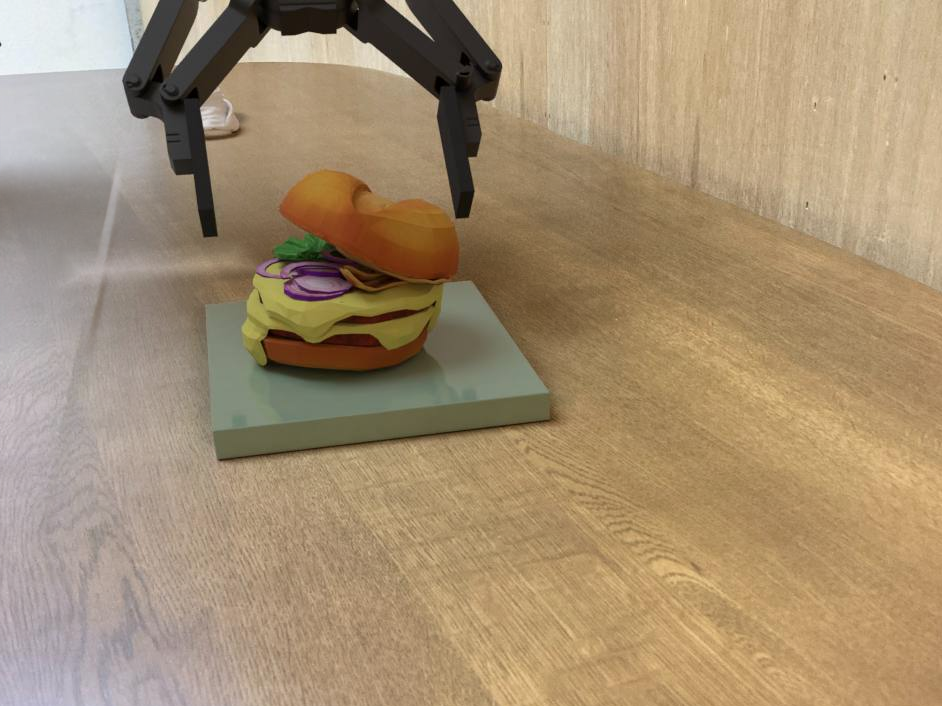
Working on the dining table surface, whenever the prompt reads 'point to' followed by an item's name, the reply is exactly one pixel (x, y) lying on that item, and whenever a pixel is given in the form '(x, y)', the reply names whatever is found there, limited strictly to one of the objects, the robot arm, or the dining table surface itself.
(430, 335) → the serving slab
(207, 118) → the whipped cream
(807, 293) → the dining table surface
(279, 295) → the cheeseburger
